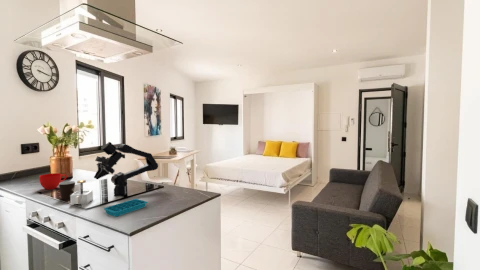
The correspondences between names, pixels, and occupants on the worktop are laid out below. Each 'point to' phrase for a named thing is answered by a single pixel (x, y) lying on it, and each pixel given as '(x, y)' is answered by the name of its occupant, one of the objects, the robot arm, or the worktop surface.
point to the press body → (81, 198)
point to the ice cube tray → (125, 207)
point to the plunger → (81, 187)
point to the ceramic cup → (51, 180)
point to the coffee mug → (66, 189)
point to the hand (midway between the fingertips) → (95, 178)
